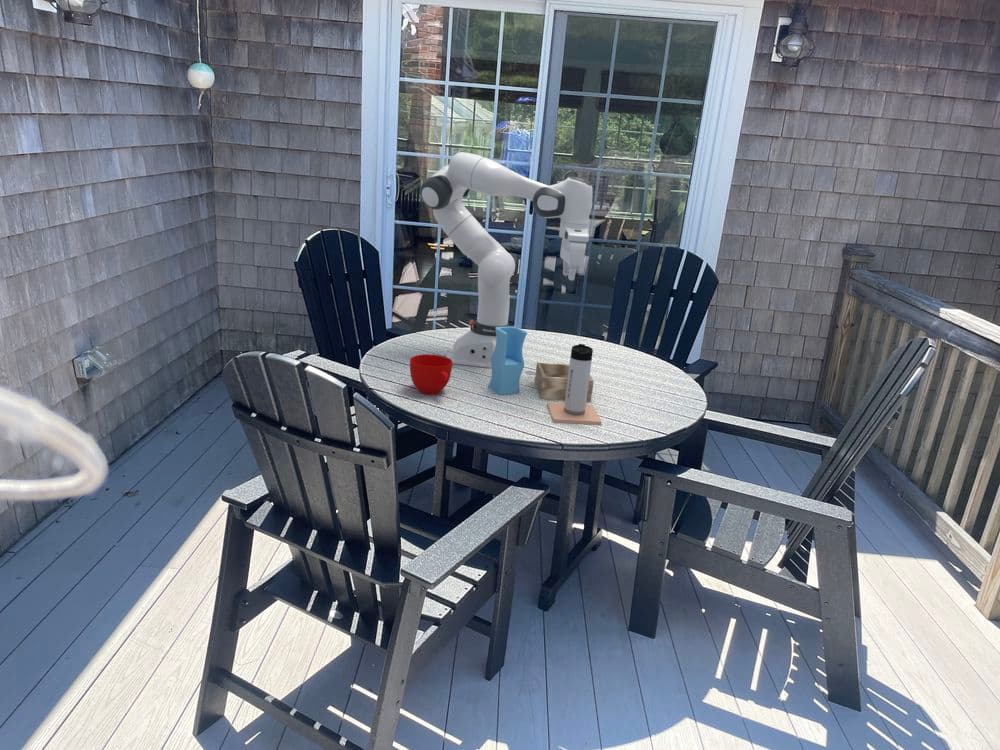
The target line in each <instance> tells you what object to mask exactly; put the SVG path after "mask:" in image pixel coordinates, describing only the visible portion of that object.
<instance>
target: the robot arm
mask: <svg viewBox="0 0 1000 750" xmlns="http://www.w3.org/2000/svg"><path fill="white" fill-rule="evenodd" d="M470 191H473V192H475V193H478V194H482V195H484V196H490V197H517V198H519V197H520V198H522V199H526V200H529V201H531V202H532V208H533V210H534V212H535V213H536V215H538V216H539V217H541V218H544V219H555V218H560V225H559V234H558V237H559V238H561V239H562V240H561V246H560V253H559V256H560V258H561V259H562V260H563V261H562V265H563V267H562V268H563V269H562V270H563V271H562V273H563V274H564V275H565V276H568V277H567V278H568V280H569V281H575V277H576V274H577V271H578V268H582V266H583V264H584V260H585V254H586V249H587V243H589V241H590V234H589V231H590V225H591V224H590V214H591V211H592V207H593V191H594V190H593V185H592V183H591V181H589V180H586V179H584V178H581V177H577V176H569V177H567V178H566V179H564V180H563V181H561V182H557V183H555V184H552V185H551V184H550V185H549V184H545V183H543V182H540V181H537V180H534V179H531V178H530V177H529V178H528V177H526V176H524V175H522V174H519V173H517V172H516V171H513V170H511V169H510V168H508V167H506V166H505V165H503V164H500V163H499V162H496V161H495V160H492V159H491V158H488V157H485V156H483V155H479V154H475V153H471V152H463V151H461V152H456V154H454V155H453V156H452V157H451V159H450V160H449V163H448V164H446V165H445V166H442V167H441V168H440V169H438V170H437V171H436V172H435V173H433V174H432V175H431V176H430V177H427V178H426V179H425V180H424V181H423V182H422V184H421V186H420V189H419V195H420V198H421V200H422V202H423V203H424V204H425V205H426V206H427V207H428V208H429V209H431V210H432V214H433V217H434V219H435V220H436V222H437V224H438V225H439V227H440V228H441V229H442V230H443V233H444V234H445V235H446V236H447V237H448V238H449V239H450V240H451V241H452V243H453V244H454V245H455V246H456V247H457V248H458V250H460V252H461V253H462V254H463V255H464V256H467V258H468V259H470V260H471V261H472V262H473V263H474V264H476V265H477V266H478V268H477V292H478V293H477V294H478V301H477V313H476V315H477V317H476V320H474V319H469V321H468V323H469V326H470V330H469V331H468V332H466V333H465V334H462V335H461V336H459V337H458V338H457V339H456V340H455V341H454V344H453V348H452V350H449V351H448V352H447V353H446V355H445V357H447V358H449V359H451V360H452V364H455V365H463V366H471V367H480V368H486V369H487V368H488V369H492V368H491V361H490V360H491V356H492V354H493V352H494V350H495V347H496V329H495V328H496V327H509V326H510V325H509V315H510V314H509V313H510V304H511V303H510V302H511V301H510V284H511V283H510V281H511V277H513V275H514V273H515V270H516V262H515V259H514V257H513V255H511V254H510V253H509V252H508V251H507V250H506V249H505V247H504V246H503V245H502V244H500V243H499V242H498V241H497V240H496V239H495V238H494V237H493V236H491V234H490V233H488V231H486V229H485V228H484V227H483V226H482V224H481V223H480V222H479V221H478V220H477V219H476V218H475V217H474V216H473V214H472V213H471V212H470V211H469V209H467V208H466V206H465V205H464V203H463V198H465V197H468V195H469V192H470Z"/></svg>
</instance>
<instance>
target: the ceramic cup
mask: <svg viewBox="0 0 1000 750" xmlns="http://www.w3.org/2000/svg"><path fill="white" fill-rule="evenodd" d="M452 368H453V363H452V360H451V359H449V358H447V357H446V356H444V355H439V354H431V353H430V354H416V355H413V356H412V357H411V358H410V359H409V373H410V378H411V380H412V383H413V386H414V387H415V388H416V389H417V390H418V392H419V393H420V394H423V395H429V396H430V395H432V396H433V395H438V394H440V393H441V392H442V391H443V390H444V389H445V388H446V386H447V385H448V383H449V381H450V378H451V374H452V371H453V370H452Z"/></svg>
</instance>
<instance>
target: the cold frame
mask: <svg viewBox="0 0 1000 750" xmlns="http://www.w3.org/2000/svg"><path fill="white" fill-rule="evenodd" d="M569 365H570V363H569V364H568V363H567V364H566V363H553V362H551V363H550V362H549V363H548V362H538V361H537V362H536V367H535V377H534V384H535V387H536V390H537V392H538V394H539V397H540V400H541V399H543V400H544V399H545V400H560V401H561V400H562V401H565V397H566V389H567V381H568V373H569ZM594 382H595V380H594V379H593V377H592V375H591V374H590V378H589V385H588V393H587V400H586V402H592V397H593V389H594Z"/></svg>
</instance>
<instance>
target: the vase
mask: <svg viewBox="0 0 1000 750" xmlns="http://www.w3.org/2000/svg"><path fill="white" fill-rule="evenodd" d="M495 329H496V347H495V350H494V352H493V354H492V356H491V360H490V361H491V368H490V369H491V377H490V381H489V384H488V385H487V386H488V388H489V389H490V390H492V391H493V392H494V393H495V394H497V395H501V396H504V395H505V396H507V395H516V394H520V380H521V376H522V373H523V370H524V368H525V361H524V356H523V347H524V342H525V339H526V337H527V335H528V332H527V331H526V330H524V329H521V328H520V327H518V326H515V325H514V326H510V325H509V327H496V328H495Z"/></svg>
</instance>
